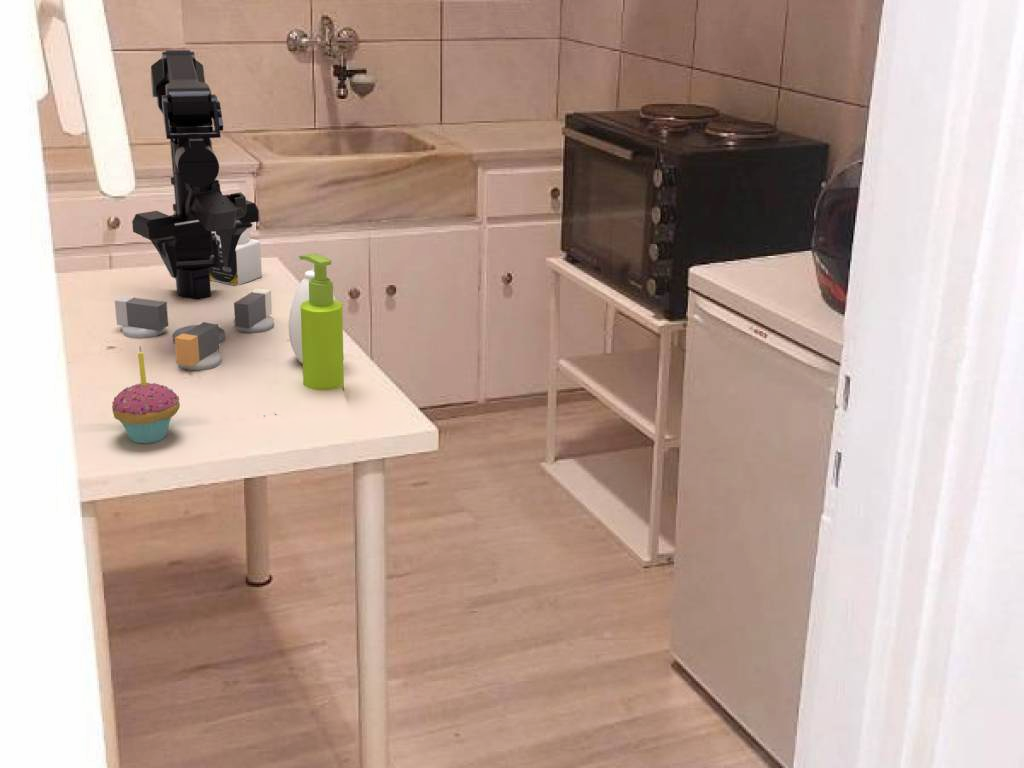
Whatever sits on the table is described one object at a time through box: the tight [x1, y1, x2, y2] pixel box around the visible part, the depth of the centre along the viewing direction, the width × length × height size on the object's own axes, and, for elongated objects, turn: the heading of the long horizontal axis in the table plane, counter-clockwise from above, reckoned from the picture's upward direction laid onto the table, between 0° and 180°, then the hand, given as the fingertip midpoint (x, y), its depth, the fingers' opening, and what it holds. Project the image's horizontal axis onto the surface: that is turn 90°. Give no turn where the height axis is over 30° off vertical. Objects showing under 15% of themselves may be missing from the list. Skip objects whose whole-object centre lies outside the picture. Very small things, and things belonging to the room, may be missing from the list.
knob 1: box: [174, 321, 222, 371], centre depth 176 cm, size 8×6×5 cm
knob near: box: [114, 295, 169, 339], centre depth 188 cm, size 8×6×5 cm
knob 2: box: [233, 288, 275, 334], centre depth 192 cm, size 8×6×5 cm
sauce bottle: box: [288, 262, 337, 364], centre depth 177 cm, size 8×8×18 cm
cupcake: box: [111, 345, 181, 444], centre depth 154 cm, size 9×8×12 cm
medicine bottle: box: [209, 228, 263, 287], centre depth 217 cm, size 7×7×12 cm
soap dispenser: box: [298, 253, 345, 392], centre depth 169 cm, size 6×7×20 cm
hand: (201, 272), depth 183 cm, fingers open, 9 cm apart
